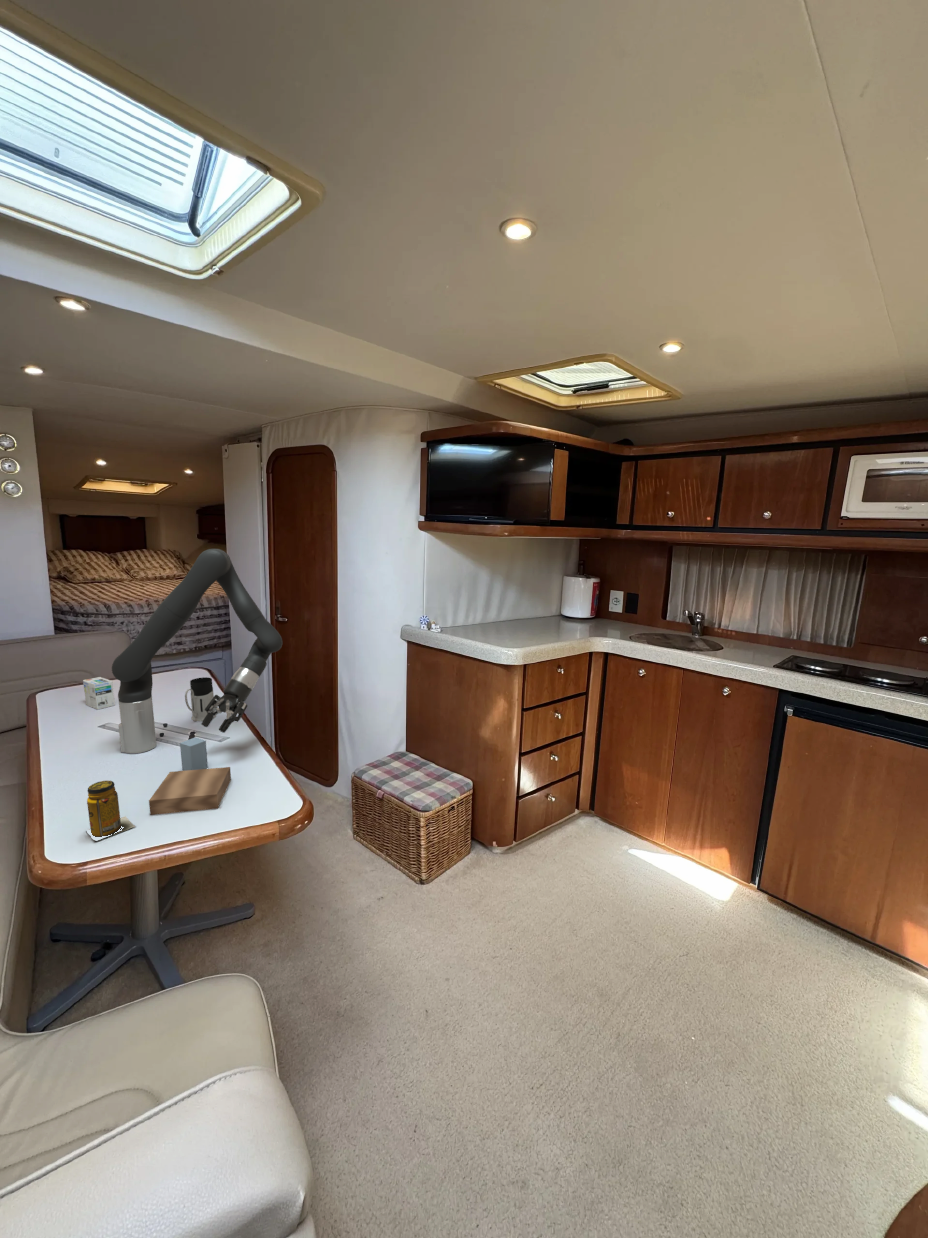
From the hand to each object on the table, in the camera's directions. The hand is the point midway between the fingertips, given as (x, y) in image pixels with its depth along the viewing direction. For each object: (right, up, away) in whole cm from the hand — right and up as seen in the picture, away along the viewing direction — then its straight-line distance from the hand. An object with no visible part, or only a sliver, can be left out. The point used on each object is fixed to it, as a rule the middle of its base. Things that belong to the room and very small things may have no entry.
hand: (212, 728), depth 160 cm
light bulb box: (-71, -1, +51) cm, 87 cm away
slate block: (-3, -12, -4) cm, 13 cm away
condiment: (-8, -17, -35) cm, 40 cm away
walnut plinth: (+4, -14, -19) cm, 24 cm away
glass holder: (-23, -5, +36) cm, 43 cm away
